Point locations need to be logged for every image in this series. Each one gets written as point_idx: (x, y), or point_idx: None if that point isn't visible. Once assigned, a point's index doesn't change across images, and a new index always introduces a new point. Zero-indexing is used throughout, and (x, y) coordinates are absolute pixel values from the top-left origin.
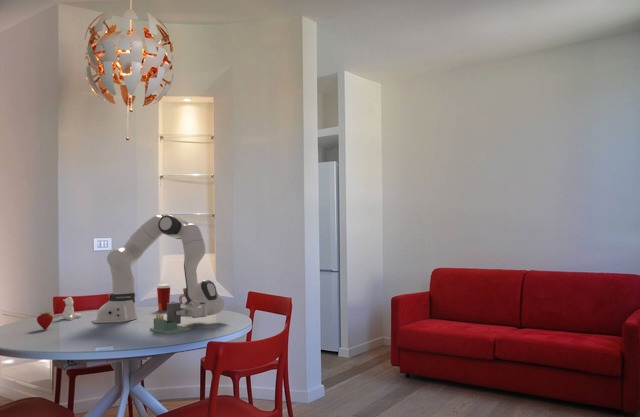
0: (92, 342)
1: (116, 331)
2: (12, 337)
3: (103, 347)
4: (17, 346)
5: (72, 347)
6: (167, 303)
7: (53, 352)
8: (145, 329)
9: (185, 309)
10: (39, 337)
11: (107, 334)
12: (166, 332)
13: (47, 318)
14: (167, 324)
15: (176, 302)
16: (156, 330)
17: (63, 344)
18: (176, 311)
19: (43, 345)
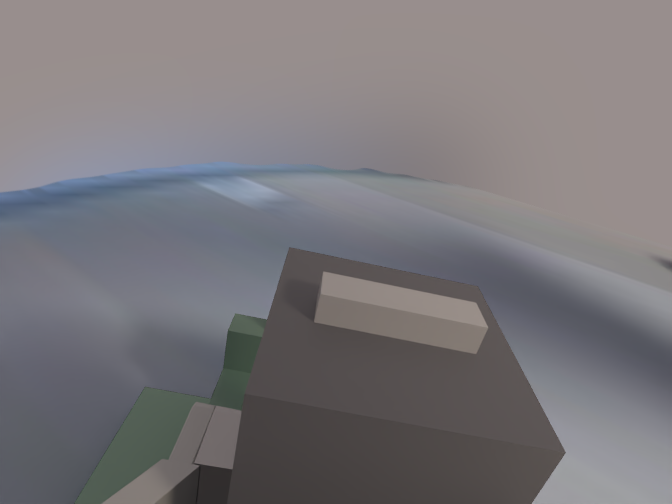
0: (370, 223)
1: (565, 356)
2: (615, 234)
3: (259, 194)
4: (471, 193)
5: (348, 192)
6: (454, 286)
7: (331, 170)
8: None
9: None
10: (577, 241)
11: (498, 303)
12: (183, 401)
13: None
14: (216, 385)
15: (421, 397)
16: None
17: (412, 206)
18: (213, 406)
19: (439, 199)
